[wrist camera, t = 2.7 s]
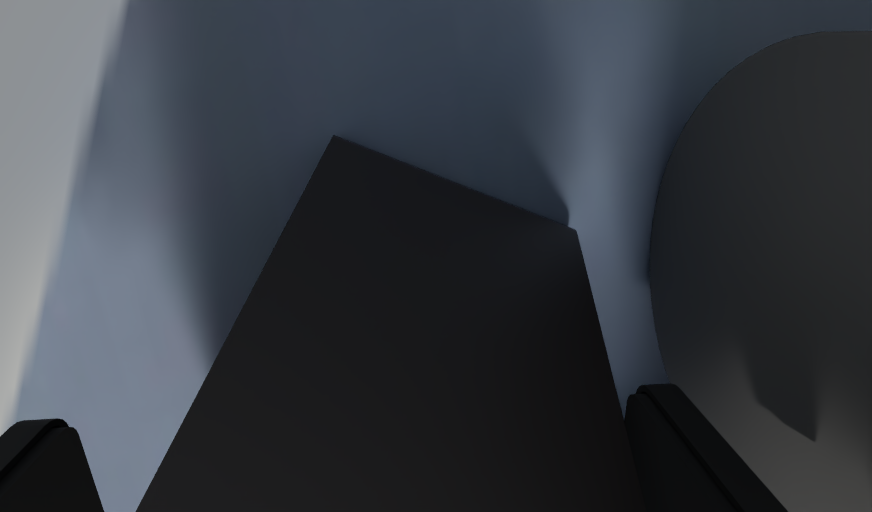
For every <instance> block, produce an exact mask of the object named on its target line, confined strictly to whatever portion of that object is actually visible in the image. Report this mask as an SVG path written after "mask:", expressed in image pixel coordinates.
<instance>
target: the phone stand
mask: <svg viewBox="0 0 872 512" xmlns="http://www.w3.org/2000/svg"><path fill="white" fill-rule="evenodd" d="M136 512H647V511H646V507H645V503H644V499H643V495H642V491H641V487H640V483H639V479H638V475H637V471H636V467H635V463H634V459H633V455H632V451H631V447H630V443H629V439H628V435H627V431H626V427H625V423H624V419H623V415H622V411H621V407H620V403H619V399H618V395H617V391H616V387H615V383H614V379H613V375H612V371H611V367H610V363H609V359H608V355H607V351H606V347H605V343H604V339H603V335H602V331H601V327H600V323H599V319H598V315H597V311H596V307H595V303H594V299H593V295H592V291H591V287H590V283H589V279H588V275H587V271H586V267H585V263H584V259H583V255H582V251H581V247H580V243H579V239H578V235H577V231H576V230H575V229H572V228H570V227H567V226H565V225H562V224H559V223H557V222H554V221H552V220H549V219H547V218H544V217H542V216H539V215H536V214H534V213H531V212H529V211H526V210H524V209H521V208H519V207H516V206H513V205H511V204H508V203H506V202H503V201H501V200H498V199H496V198H493V197H491V196H488V195H485V194H483V193H480V192H478V191H475V190H473V189H470V188H468V187H465V186H462V185H460V184H457V183H455V182H452V181H450V180H447V179H445V178H442V177H439V176H437V175H434V174H432V173H429V172H427V171H424V170H422V169H419V168H417V167H414V166H411V165H409V164H406V163H404V162H401V161H399V160H396V159H394V158H391V157H388V156H386V155H383V154H381V153H378V152H376V151H373V150H371V149H368V148H365V147H363V146H360V145H358V144H355V143H353V142H350V141H348V140H345V139H342V138H340V137H337V136H335V135H333V137H332V139H331V141H330V143H329V144H328V146H327V148H326V150H325V152H324V154H323V156H322V158H321V160H320V162H319V164H318V165H317V167H316V169H315V171H314V173H313V175H312V177H311V179H310V181H309V183H308V184H307V186H306V188H305V190H304V192H303V194H302V196H301V198H300V200H299V202H298V204H297V205H296V207H295V209H294V211H293V213H292V215H291V217H290V219H289V221H288V223H287V224H286V226H285V228H284V230H283V232H282V234H281V236H280V238H279V240H278V242H277V244H276V245H275V247H274V249H273V251H272V253H271V255H270V257H269V259H268V261H267V263H266V264H265V266H264V268H263V270H262V272H261V274H260V276H259V278H258V280H257V282H256V283H255V285H254V287H253V289H252V291H251V293H250V295H249V297H248V299H247V301H246V303H245V304H244V306H243V308H242V310H241V312H240V314H239V316H238V318H237V320H236V322H235V323H234V325H233V327H232V329H231V331H230V333H229V335H228V337H227V339H226V341H225V343H224V344H223V346H222V348H221V350H220V352H219V354H218V356H217V358H216V360H215V362H214V363H213V365H212V367H211V369H210V371H209V373H208V375H207V377H206V379H205V381H204V383H203V384H202V386H201V388H200V390H199V392H198V394H197V396H196V398H195V400H194V402H193V403H192V405H191V407H190V409H189V411H188V413H187V415H186V417H185V419H184V421H183V423H182V424H181V426H180V428H179V430H178V432H177V434H176V436H175V438H174V440H173V442H172V443H171V445H170V447H169V449H168V451H167V453H166V455H165V457H164V459H163V461H162V463H161V464H160V466H159V468H158V470H157V472H156V474H155V476H154V478H153V480H152V482H151V483H150V485H149V487H148V489H147V491H146V493H145V495H144V497H143V499H142V501H141V502H140V504H139V506H138V508H137V510H136Z"/></svg>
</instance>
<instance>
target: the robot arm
mask: <svg viewBox="0 0 872 512" xmlns="http://www.w3.org/2000/svg"><path fill="white" fill-rule="evenodd" d="M624 423H625V427H626V431H627V435H628V439H629V443H630V447H631V451H632V455H633V459H634V463H635V467H636V471H637V475H638V479H639V483H640V487H641V491H642V495H643V499H644V503H645V507H646V511H647V512H788V511H787V510H786V508H785V507H784V506H783V505H782V504H781V503H780V502H779V500H778V499H777V498H776V497H775V496H774V495H773V494H772V492H771V491H770V490H769V489H768V488H767V487H766V486H765V484H764V483H763V482H762V481H761V480H760V479H759V478H758V477H757V475H756V474H755V473H754V472H753V471H752V470H751V469H750V467H749V466H748V465H747V464H746V463H745V462H744V461H743V459H742V458H741V457H740V456H739V455H738V454H737V453H736V452H735V450H734V449H733V448H732V447H731V446H730V445H729V444H728V442H727V441H726V440H725V439H724V438H723V437H722V436H721V434H720V433H719V432H718V431H717V430H716V429H715V428H714V426H713V425H712V424H711V423H710V422H709V421H708V420H707V419H706V417H705V416H704V415H703V414H702V413H701V412H700V411H699V409H698V408H697V407H696V406H695V405H694V404H693V403H692V401H691V400H690V399H689V398H688V397H687V396H686V395H685V394H684V392H683V391H682V390H681V389H680V388H679V387H678V386H677V385H675V384H672V383H671V384H653V385H642V386H639V388H638V389H637V392H636V394H631V395H630V396H629V397H628V400H627V406H626V413H625V420H624ZM0 512H104V510H103V507H102V504H101V501H100V498H99V495H98V492H97V489H96V486H95V483H94V480H93V477H92V474H91V471H90V468H89V465H88V462H87V458H86V455H85V452H84V449H83V446H82V443H81V440H80V437H79V434H78V432H77V430H76V429H74V428H73V427H69V426H68V424H67V423H66V422H65V421H64V420H63V419H41V420H24V421H20V422H17V423H15V424H14V425H13V426H11V427H10V428H9V429H8V430H7V431H6V432H5V433H4V434H3V435H2V436H0Z"/></svg>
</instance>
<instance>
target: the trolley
mask: <svg viewBox="0 0 872 512" xmlns="http://www.w3.org/2000/svg"><path fill="white" fill-rule="evenodd" d="M650 289H651V301H652V310H653V317H654V324H655V330H656V335H657V339H658V344H659V349H660V353H661V356H662V360H663V363H664V367H665V371H666V373H667V376H668V379H669V382H670V384H671V383H672V384H675V385H677V386H678V387H679V388H680V389H681V390H682V391H683V392H684V394H685V395H686V396H687V397H688V398H689V399H690V400H691V401H692V403H693V404H694V405H695V406H696V407H697V408H698V409H699V411H700V412H701V413H702V414H703V415H704V416H705V417H706V419H707V420H708V421H709V422H710V423H711V424H712V425H713V426H714V428H715V429H716V430H717V431H718V432H719V433H720V434H721V436H722V437H723V438H724V439H725V440H726V441H727V442H728V444H729V445H730V446H731V447H732V448H733V449H734V450H735V452H736V453H737V454H738V455H739V456H740V457H741V458H742V459H743V461H744V462H745V463H746V464H747V465H748V466H749V467H750V469H751V470H752V471H753V472H754V473H755V474H756V475H757V477H758V478H759V479H760V480H761V481H762V482H763V483H764V484H765V486H766V487H767V488H768V489H769V490H770V491H771V492H772V494H773V495H774V496H775V497H776V498H777V499H778V500H779V502H780V503H781V504H782V505H783V506H784V507H785V508H786V510H787V511H788V512H872V31H841V32H818V33H812V34H807V35H801V36H795V37H792V38H790V39H787V40H784V41H781V42H778V43H776V44H773V45H770V46H768V47H766V48H765V49H763V50H761V51H759V52H757V53H755V54H753V55H752V56H750V57H748V58H747V59H745V60H744V61H743V62H741V63H740V64H739V65H737V66H736V67H735V68H733V69H732V70H731V71H729V72H728V73H727V74H726V75H725V76H724V77H723V78H722V79H721V80H720V81H719V82H718V83H717V84H716V85H715V86H714V87H713V88H712V89H711V90H710V92H709V93H708V94H707V95H706V96H705V98H704V99H703V100H702V101H701V102H700V104H699V105H698V106H697V108H696V109H695V111H694V113H693V114H692V116H691V117H690V119H689V120H688V122H687V123H686V125H685V127H684V129H683V131H682V133H681V134H680V136H679V138H678V140H677V142H676V144H675V147H674V149H673V151H672V154H671V156H670V158H669V161H668V164H667V167H666V170H665V173H664V176H663V179H662V182H661V186H660V190H659V194H658V198H657V202H656V207H655V213H654V218H653V225H652V235H651V245H650Z"/></svg>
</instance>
